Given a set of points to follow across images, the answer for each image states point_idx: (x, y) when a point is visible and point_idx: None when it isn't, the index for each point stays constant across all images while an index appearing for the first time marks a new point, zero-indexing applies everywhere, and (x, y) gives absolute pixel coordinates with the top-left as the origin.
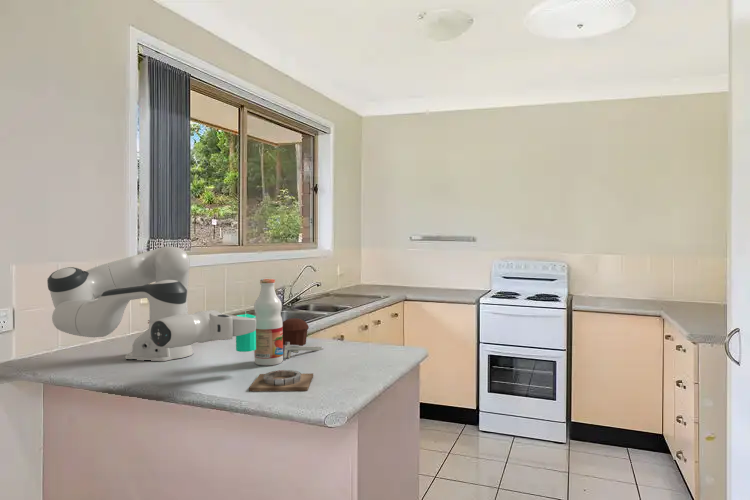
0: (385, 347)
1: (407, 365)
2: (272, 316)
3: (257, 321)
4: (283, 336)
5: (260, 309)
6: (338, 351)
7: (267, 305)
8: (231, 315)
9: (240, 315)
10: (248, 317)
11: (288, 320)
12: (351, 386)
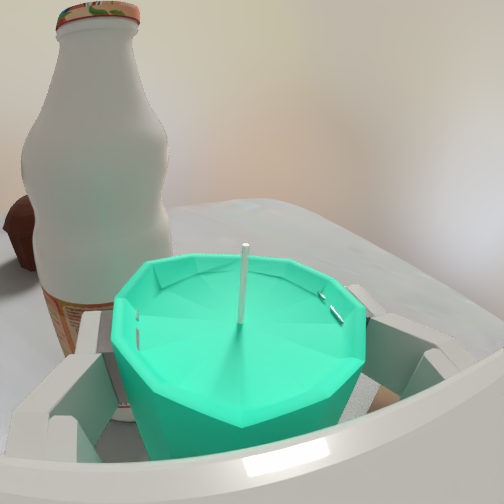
0: (225, 208)
1: (364, 239)
2: (158, 208)
3: (88, 263)
4: (26, 249)
5: (105, 182)
6: (183, 244)
7: (146, 147)
8: (267, 494)
9: (128, 319)
10: (364, 321)
11: (27, 203)
12: (478, 336)
